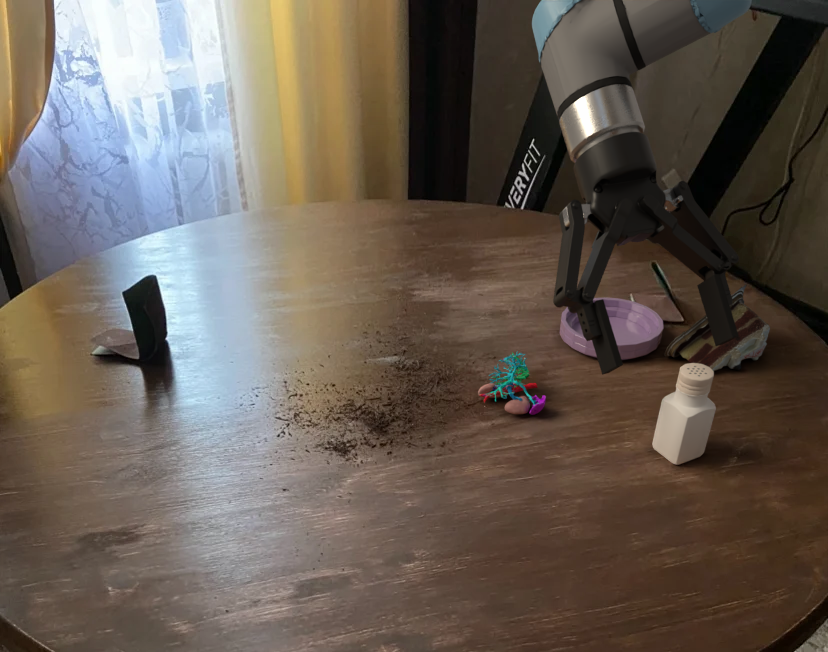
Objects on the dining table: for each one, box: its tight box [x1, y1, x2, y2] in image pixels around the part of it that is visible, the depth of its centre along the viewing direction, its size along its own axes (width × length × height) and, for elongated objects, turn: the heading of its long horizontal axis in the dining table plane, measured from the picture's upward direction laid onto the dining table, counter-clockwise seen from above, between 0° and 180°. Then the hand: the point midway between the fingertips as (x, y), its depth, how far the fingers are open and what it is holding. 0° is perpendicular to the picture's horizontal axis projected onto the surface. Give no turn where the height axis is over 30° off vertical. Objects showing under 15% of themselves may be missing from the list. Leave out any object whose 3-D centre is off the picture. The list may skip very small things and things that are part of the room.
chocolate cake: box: [664, 284, 771, 372], centre depth 99 cm, size 10×7×12 cm
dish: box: [559, 296, 664, 361], centre depth 103 cm, size 12×12×2 cm
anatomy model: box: [477, 350, 547, 416], centre depth 91 cm, size 5×8×7 cm
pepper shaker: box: [651, 362, 717, 466], centre depth 83 cm, size 4×4×10 cm
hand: (671, 355), depth 82 cm, fingers open, 13 cm apart
